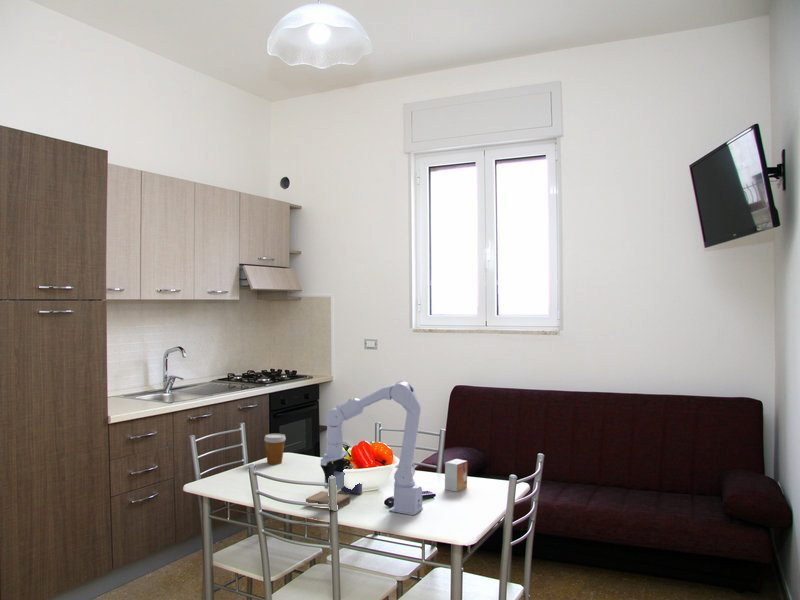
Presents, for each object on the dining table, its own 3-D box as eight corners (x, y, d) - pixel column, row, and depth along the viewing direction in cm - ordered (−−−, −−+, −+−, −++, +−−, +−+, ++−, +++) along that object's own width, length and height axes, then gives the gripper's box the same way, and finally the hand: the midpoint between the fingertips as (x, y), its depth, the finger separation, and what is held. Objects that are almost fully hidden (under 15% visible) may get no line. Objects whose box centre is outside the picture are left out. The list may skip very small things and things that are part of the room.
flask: (363, 493, 230) (363, 465, 230) (358, 495, 228) (359, 466, 228) (343, 489, 235) (343, 461, 235) (338, 491, 233) (339, 463, 233)
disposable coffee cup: (285, 465, 268) (285, 437, 268) (262, 465, 266) (263, 438, 267) (286, 459, 277) (286, 433, 277) (264, 460, 276) (264, 433, 276)
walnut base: (349, 503, 219) (350, 496, 219) (335, 511, 210) (335, 504, 210) (321, 497, 224) (321, 491, 224) (305, 505, 215) (305, 498, 215)
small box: (456, 492, 234) (457, 464, 234) (444, 489, 237) (444, 462, 237) (467, 487, 240) (467, 460, 240) (455, 484, 244) (455, 458, 244)
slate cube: (344, 486, 217) (344, 472, 217) (336, 490, 212) (337, 476, 212) (332, 484, 219) (332, 470, 219) (324, 488, 215) (324, 474, 215)
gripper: (335, 437, 224) (334, 474, 224) (313, 445, 211) (312, 485, 211) (352, 439, 221) (351, 477, 221) (331, 447, 208) (330, 488, 208)
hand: (333, 481), depth 216 cm, fingers closed on slate cube, 5 cm apart
